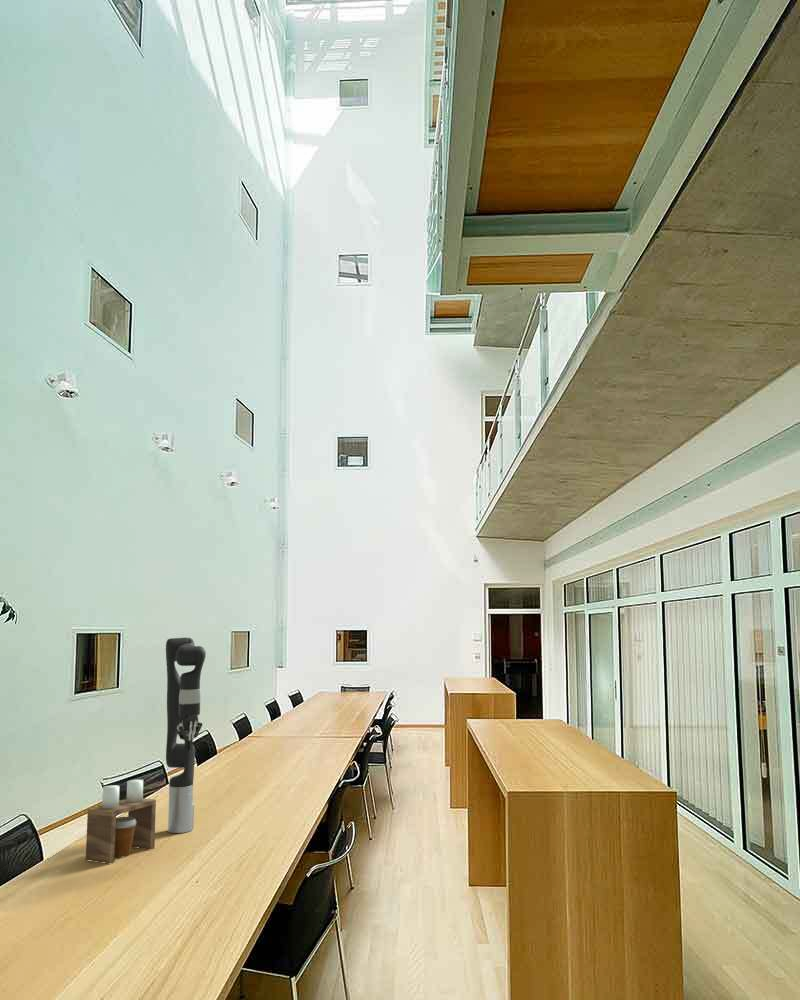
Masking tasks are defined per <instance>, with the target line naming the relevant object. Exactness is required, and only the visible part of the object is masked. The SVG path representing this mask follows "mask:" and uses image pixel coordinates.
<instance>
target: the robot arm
mask: <svg viewBox="0 0 800 1000" xmlns="http://www.w3.org/2000/svg"><path fill="white" fill-rule="evenodd" d="M206 656H207V652H206V650H205V648H204V647H203V646H202V645H201V646H200V645H196V644H195V641H194V639H192V638H190V637H175V638H174V637H172V638H168V639H167V640H166V643H165V658H166V659H165V661H166V678H167V680H166V681H167V682H166V685H167V686H166V717H167V722H166V723H167V732H166V733H167V734H166V744H165V745H166V748H165V762H166V765H167V767H168V768H172V769H173V768H176V769H177V768H178V769H179V768H184V769H183V771H182V773H180V774H177V775H174V776H172V777H170V779H169V781H168V782H169V783H168V784H169V785H168V817H167V819H168V820H167V821H168V822H167V832H168V833H171V834H181V833H182V834H183V833H189V832H191V831H192V830H193V829H195V828H194V825H195V822H194V821H195V818H194V817H195V803H194V801H193V800H194V778H195V777H194V775H195V763H196V762H195V760H196V748H195V745H194V744H193V742H194V739H195V738H196V739H197V738H198V735H199V734H200V731H201V729H202V727H203V723H202V722H200V721H199V716H200V714H201V689H200V688H201V684H200V683H201V675H202V669H203V666H204V663H205V661H206ZM175 662H176V663H177V664H178V666H181V667H189V666H193V667H194V668H193V669H192V670H191V671H187V672H183V673H181V675H179V672H178V671H177V669H176V665H175ZM178 737H179V738H180V740H183V741H184V743H177V740H178V739H177V738H178Z"/></svg>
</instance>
